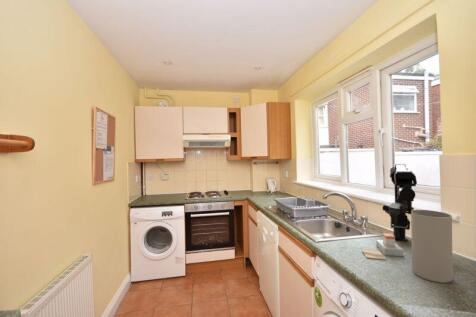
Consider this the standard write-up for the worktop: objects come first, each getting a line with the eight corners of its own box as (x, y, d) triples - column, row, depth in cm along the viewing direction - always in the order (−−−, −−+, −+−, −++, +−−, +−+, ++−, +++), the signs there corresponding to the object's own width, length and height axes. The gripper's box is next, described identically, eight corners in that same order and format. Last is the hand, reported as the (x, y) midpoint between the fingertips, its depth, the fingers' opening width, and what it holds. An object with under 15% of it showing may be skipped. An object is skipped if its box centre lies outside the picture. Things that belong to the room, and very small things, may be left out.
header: (376, 245, 122) (376, 239, 122) (393, 246, 120) (393, 240, 120) (384, 254, 111) (384, 248, 111) (403, 256, 109) (403, 249, 109)
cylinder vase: (442, 270, 95) (442, 210, 95) (460, 286, 84) (459, 218, 83) (407, 265, 100) (406, 209, 99) (419, 280, 88) (418, 216, 87)
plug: (383, 248, 118) (382, 233, 118) (391, 249, 117) (391, 233, 117) (386, 251, 114) (385, 235, 114) (395, 252, 113) (395, 236, 113)
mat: (362, 251, 115) (362, 250, 115) (379, 252, 113) (379, 251, 113) (366, 258, 107) (366, 257, 107) (385, 259, 105) (385, 258, 105)
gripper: (374, 195, 116) (375, 225, 116) (414, 202, 98) (414, 237, 99) (389, 193, 120) (390, 222, 120) (430, 199, 102) (430, 233, 103)
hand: (404, 228), depth 110 cm, fingers open, 9 cm apart
